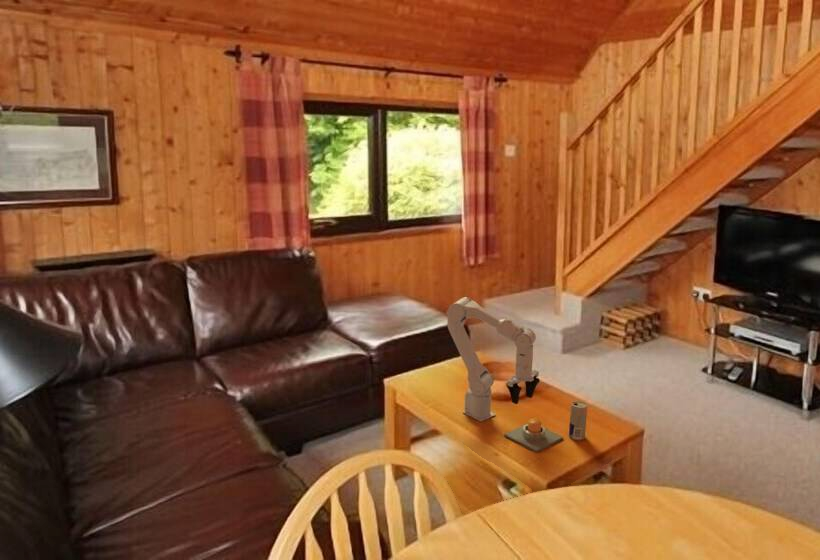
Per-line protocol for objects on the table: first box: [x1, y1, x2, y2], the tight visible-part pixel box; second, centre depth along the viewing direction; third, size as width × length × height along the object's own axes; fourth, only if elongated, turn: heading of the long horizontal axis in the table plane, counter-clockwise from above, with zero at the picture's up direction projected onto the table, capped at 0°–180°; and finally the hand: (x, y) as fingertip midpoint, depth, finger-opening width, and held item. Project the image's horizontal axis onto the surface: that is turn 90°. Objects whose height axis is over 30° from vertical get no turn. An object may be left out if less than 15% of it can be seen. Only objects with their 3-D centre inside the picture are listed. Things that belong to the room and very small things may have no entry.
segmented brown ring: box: [522, 423, 546, 441], centre depth 202 cm, size 7×7×2 cm
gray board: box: [503, 422, 564, 453], centre depth 202 cm, size 14×14×1 cm
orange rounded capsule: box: [527, 418, 542, 433], centre depth 201 cm, size 4×4×5 cm
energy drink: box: [568, 401, 588, 441], centre depth 201 cm, size 5×5×12 cm
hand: (522, 399), depth 209 cm, fingers open, 7 cm apart
